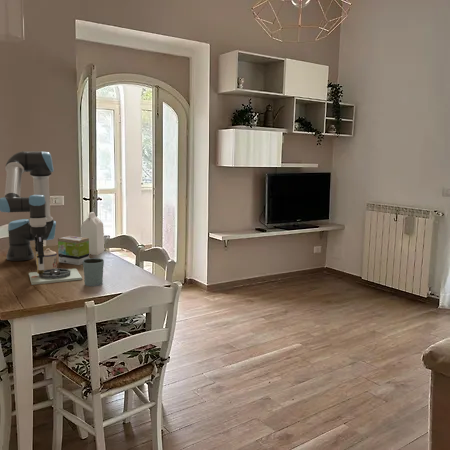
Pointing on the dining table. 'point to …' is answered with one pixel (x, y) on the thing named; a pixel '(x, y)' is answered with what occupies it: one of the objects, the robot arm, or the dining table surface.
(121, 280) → the dining table surface
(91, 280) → the grey blue cup
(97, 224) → the milk
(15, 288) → the dining table surface
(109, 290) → the dining table surface
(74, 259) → the tea box
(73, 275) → the board
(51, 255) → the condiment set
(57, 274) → the handwheel
